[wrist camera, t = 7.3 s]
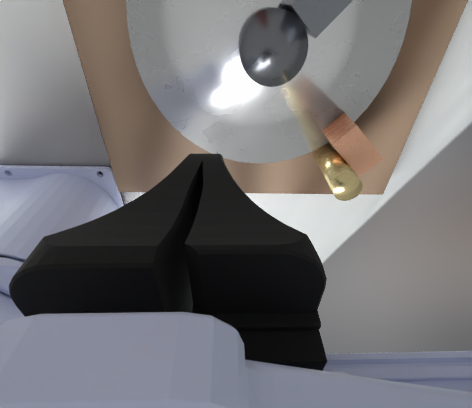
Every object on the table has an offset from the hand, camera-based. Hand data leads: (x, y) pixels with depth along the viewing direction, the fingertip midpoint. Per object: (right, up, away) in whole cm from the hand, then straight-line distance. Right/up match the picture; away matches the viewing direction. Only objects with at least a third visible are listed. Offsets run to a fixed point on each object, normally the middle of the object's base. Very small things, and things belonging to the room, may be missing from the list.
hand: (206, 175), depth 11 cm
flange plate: (+4, +8, +3) cm, 9 cm away
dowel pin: (+7, +3, +8) cm, 11 cm away
